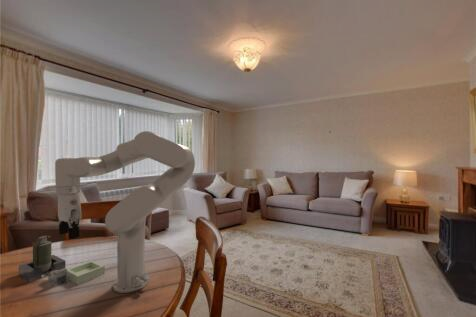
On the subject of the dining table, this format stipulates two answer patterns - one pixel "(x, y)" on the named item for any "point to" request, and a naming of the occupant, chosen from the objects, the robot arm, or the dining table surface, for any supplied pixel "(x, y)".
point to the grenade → (42, 254)
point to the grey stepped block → (58, 276)
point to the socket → (39, 269)
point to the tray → (85, 272)
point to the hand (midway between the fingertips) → (69, 235)
